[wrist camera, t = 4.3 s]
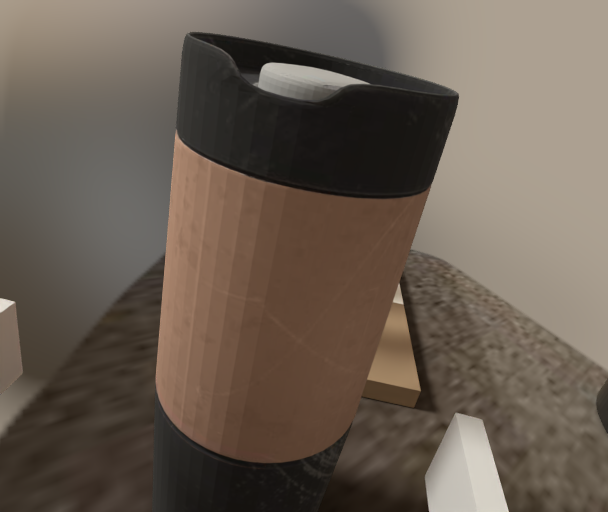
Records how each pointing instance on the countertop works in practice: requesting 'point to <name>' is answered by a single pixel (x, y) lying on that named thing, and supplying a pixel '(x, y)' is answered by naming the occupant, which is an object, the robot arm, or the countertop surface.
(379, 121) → the travel mug
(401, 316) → the wooden cutting board
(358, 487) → the countertop surface
